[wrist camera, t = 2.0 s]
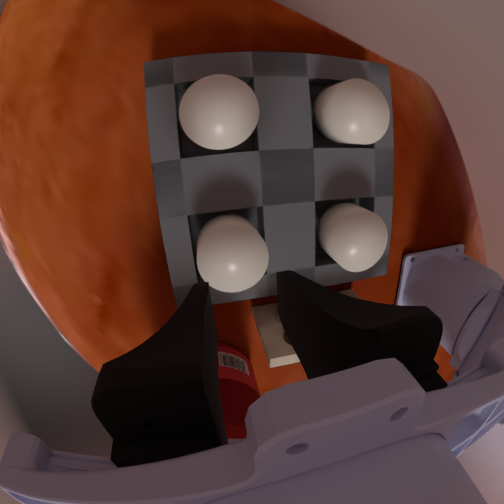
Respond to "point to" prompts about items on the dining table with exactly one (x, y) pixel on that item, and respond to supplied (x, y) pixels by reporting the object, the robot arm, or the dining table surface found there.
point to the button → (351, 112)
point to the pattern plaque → (277, 334)
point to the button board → (265, 165)
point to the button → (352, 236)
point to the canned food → (235, 389)
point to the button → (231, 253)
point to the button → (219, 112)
